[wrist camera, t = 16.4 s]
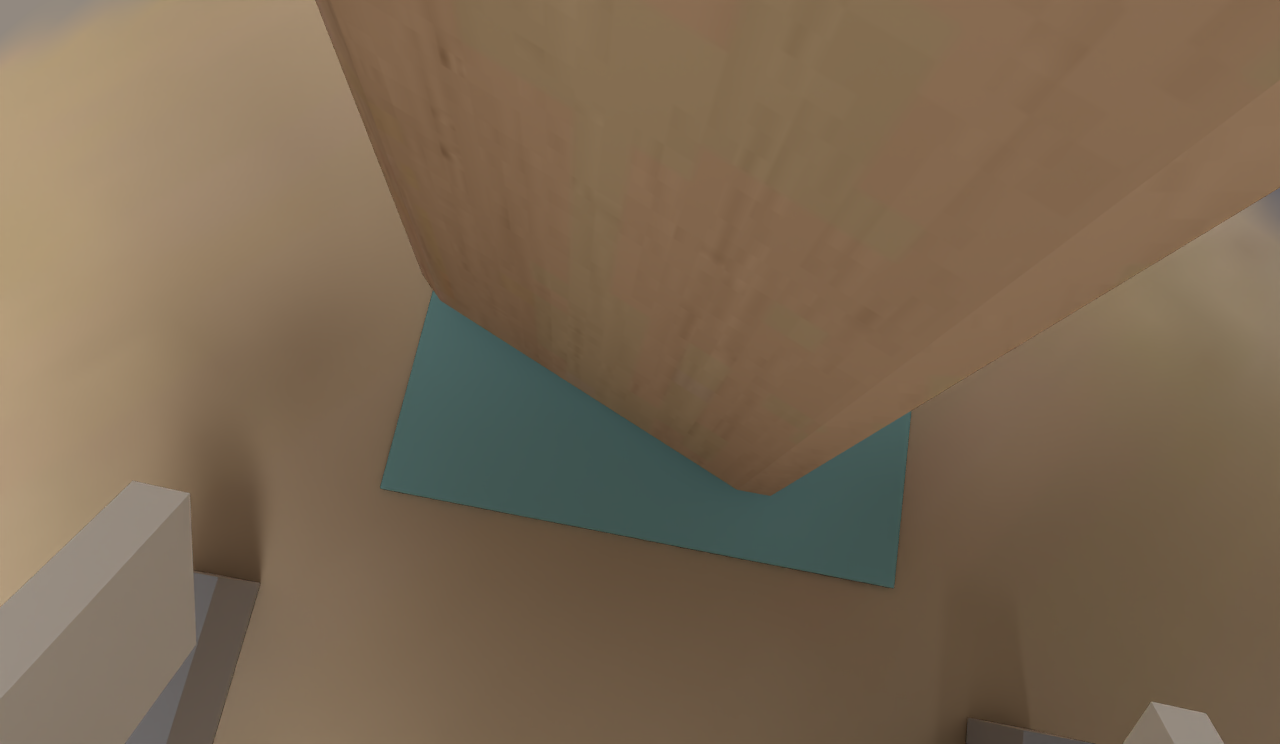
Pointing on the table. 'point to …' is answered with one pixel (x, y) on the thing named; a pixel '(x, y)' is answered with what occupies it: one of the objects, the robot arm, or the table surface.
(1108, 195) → the wooden block
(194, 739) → the chute
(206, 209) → the table surface
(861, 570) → the mat
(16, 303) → the table surface
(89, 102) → the table surface
